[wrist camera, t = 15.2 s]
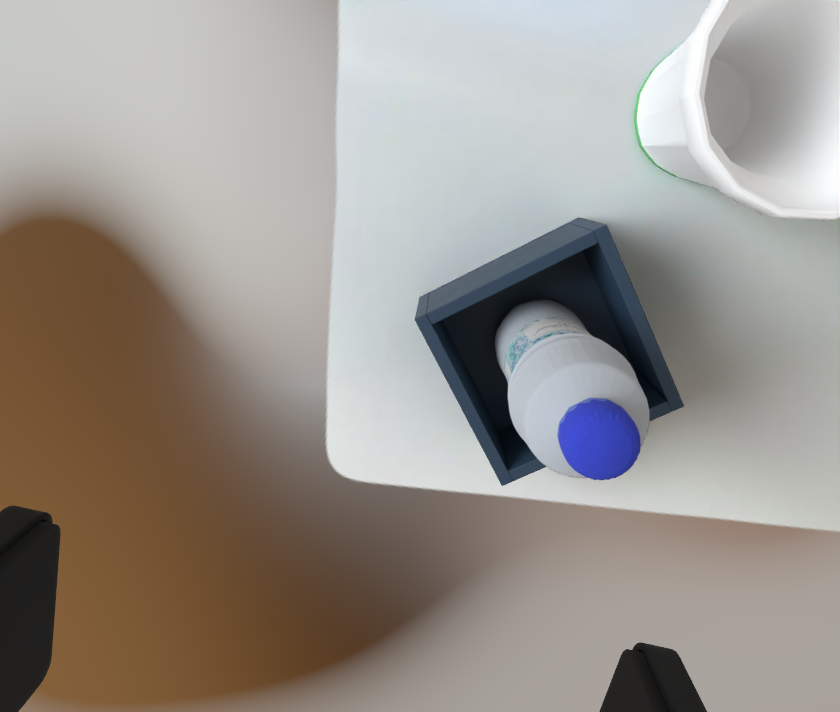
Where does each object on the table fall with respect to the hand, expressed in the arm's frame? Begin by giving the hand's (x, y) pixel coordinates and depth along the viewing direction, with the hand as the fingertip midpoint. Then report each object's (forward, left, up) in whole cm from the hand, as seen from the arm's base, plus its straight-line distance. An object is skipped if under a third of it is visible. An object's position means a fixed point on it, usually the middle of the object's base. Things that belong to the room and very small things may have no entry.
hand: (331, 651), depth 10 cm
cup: (-22, -2, -36) cm, 43 cm away
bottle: (-6, +7, -36) cm, 37 cm away
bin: (-6, +7, -36) cm, 37 cm away
